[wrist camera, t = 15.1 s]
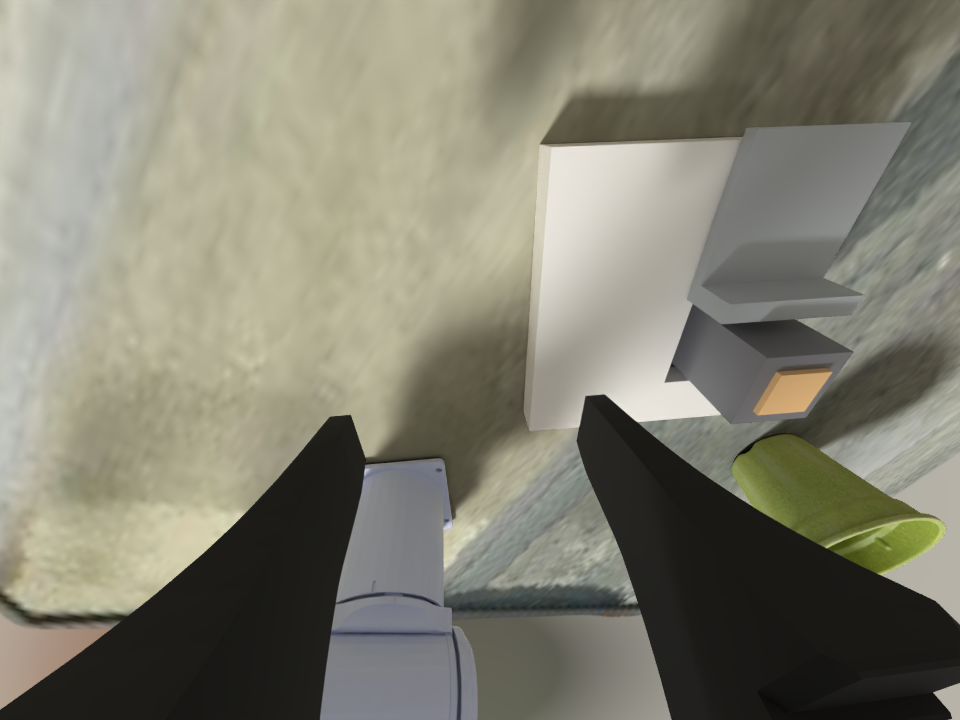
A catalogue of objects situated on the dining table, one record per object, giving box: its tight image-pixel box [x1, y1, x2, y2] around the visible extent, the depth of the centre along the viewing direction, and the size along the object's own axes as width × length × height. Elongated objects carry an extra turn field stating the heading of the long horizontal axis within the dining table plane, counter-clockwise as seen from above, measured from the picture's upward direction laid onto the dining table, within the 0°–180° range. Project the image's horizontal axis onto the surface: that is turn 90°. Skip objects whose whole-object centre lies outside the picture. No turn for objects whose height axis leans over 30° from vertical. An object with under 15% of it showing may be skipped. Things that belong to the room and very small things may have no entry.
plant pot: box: [732, 434, 946, 575], centre depth 27 cm, size 9×9×9 cm
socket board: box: [523, 137, 798, 431], centre depth 19 cm, size 16×15×2 cm
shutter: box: [687, 122, 912, 324], centre depth 15 cm, size 7×6×3 cm
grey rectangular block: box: [672, 304, 853, 424], centre depth 18 cm, size 4×4×6 cm
